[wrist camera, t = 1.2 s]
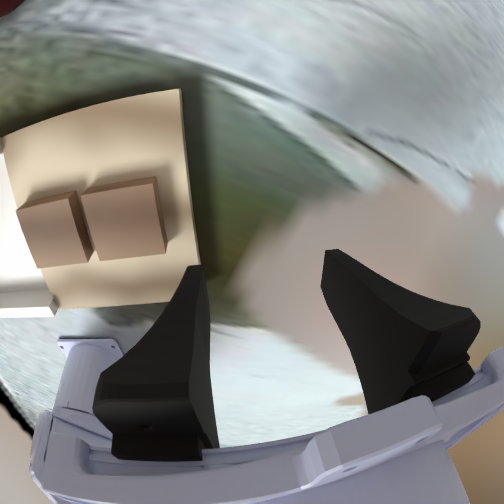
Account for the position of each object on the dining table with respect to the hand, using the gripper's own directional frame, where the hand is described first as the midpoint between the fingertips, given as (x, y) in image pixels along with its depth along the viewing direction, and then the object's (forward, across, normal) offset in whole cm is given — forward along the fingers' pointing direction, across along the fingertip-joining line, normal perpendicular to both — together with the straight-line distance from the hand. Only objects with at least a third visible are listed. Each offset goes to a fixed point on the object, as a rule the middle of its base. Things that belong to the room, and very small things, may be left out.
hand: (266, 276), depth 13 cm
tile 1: (+8, +8, 0) cm, 12 cm away
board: (+10, +10, 0) cm, 15 cm away
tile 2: (+8, +14, 0) cm, 16 cm away
